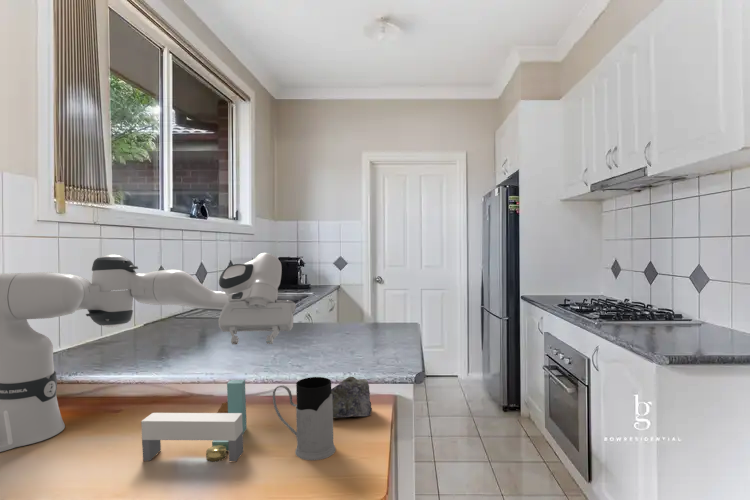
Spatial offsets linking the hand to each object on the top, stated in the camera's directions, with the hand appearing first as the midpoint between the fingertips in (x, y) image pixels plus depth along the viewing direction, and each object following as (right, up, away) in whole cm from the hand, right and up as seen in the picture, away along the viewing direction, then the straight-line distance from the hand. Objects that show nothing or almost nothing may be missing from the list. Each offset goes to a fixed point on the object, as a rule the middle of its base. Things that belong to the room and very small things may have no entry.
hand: (251, 343), depth 126 cm
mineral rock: (+25, -18, -4) cm, 31 cm away
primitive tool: (-7, -19, -2) cm, 20 cm away
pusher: (0, -19, -17) cm, 25 cm away
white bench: (-6, -19, -25) cm, 32 cm away
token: (-1, -19, -25) cm, 32 cm away
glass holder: (+17, -19, -22) cm, 34 cm away
